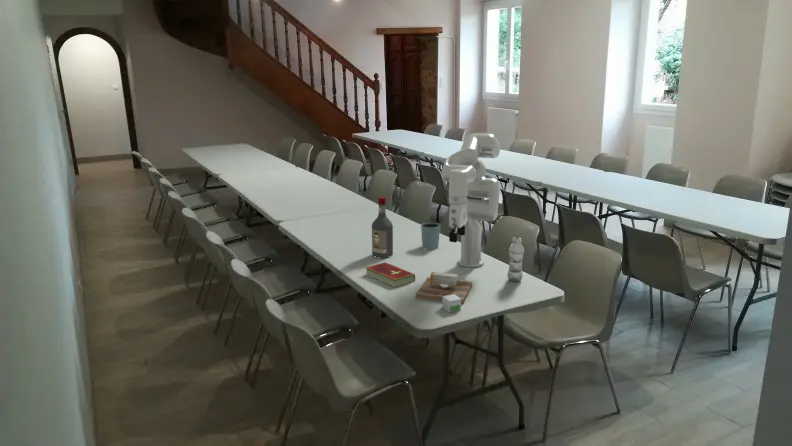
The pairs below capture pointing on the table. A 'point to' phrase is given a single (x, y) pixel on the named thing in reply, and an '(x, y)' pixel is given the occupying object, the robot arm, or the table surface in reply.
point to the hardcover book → (390, 274)
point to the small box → (451, 303)
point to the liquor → (382, 233)
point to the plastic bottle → (515, 260)
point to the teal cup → (430, 235)
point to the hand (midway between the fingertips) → (457, 238)
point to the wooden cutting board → (443, 291)
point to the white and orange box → (443, 279)
